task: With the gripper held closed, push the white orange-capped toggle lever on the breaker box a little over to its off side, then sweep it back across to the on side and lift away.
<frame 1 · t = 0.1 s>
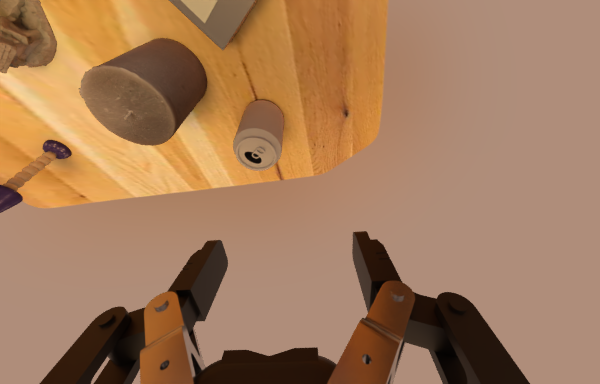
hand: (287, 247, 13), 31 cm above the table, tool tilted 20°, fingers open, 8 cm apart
pillar candle: (176, 72, 34), on the table
toy lamp: (61, 148, 45), on the table
can: (264, 117, 40), on the table
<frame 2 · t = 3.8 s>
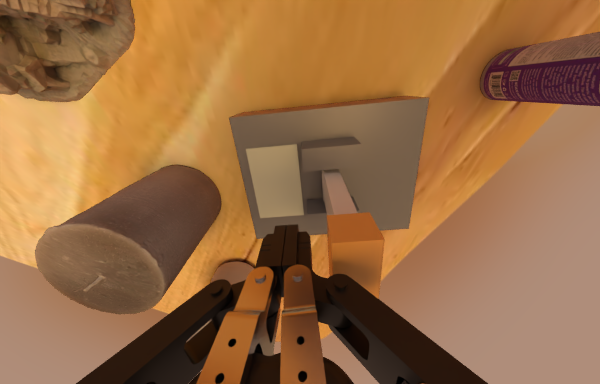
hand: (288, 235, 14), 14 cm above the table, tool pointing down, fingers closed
breaker box: (324, 164, 27), on the table
container: (502, 75, 22), on the table
pillar candle: (187, 196, 29), on the table
breaker lever: (338, 211, 16), point 11 cm above the table, hinge at -0.1°, touching gripper
ceramic cottage: (56, 22, 21), on the table
can: (239, 273, 35), on the table
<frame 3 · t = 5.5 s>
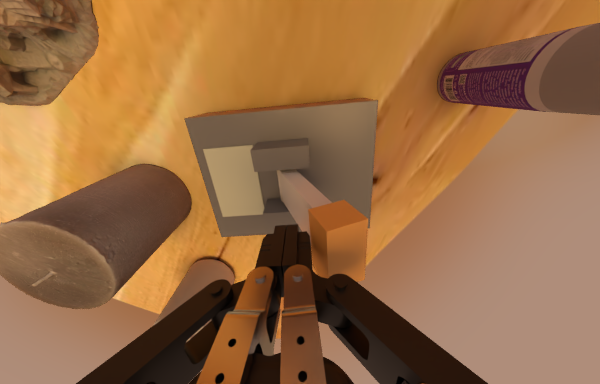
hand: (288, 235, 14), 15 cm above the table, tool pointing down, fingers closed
breaker box: (290, 164, 27), on the table
container: (458, 78, 23), on the table
pillar candle: (158, 194, 30), on the table
breaker lever: (306, 207, 17), point 11 cm above the table, hinge at -21.3°
ceramic cottage: (23, 29, 22), on the table
can: (214, 271, 36), on the table
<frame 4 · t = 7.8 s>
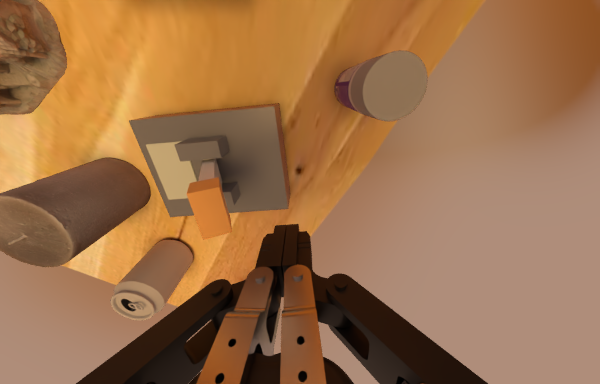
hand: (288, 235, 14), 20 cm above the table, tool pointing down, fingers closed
breaker box: (227, 157, 33), on the table
container: (351, 87, 28), on the table
pillar candle: (122, 183, 36), on the table
breaker lever: (212, 186, 23), point 11 cm above the table, hinge at -21.4°
ceramic cottage: (8, 55, 28), on the table
can: (176, 251, 42), on the table
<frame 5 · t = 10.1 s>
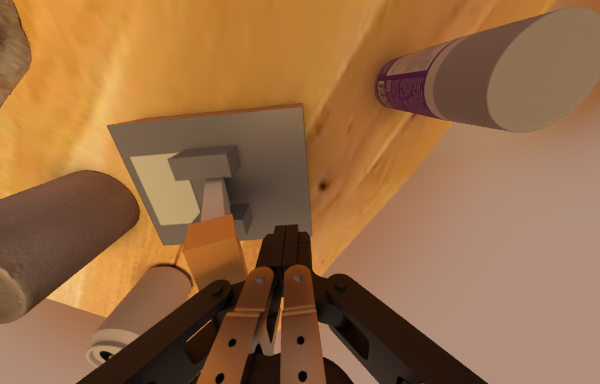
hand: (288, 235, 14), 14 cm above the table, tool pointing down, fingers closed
breaker box: (235, 170, 26), on the table
container: (396, 83, 22), on the table
pillar candle: (104, 201, 29), on the table
breaker lever: (219, 218, 16), point 11 cm above the table, hinge at -21.0°, touching gripper
can: (171, 278, 35), on the table
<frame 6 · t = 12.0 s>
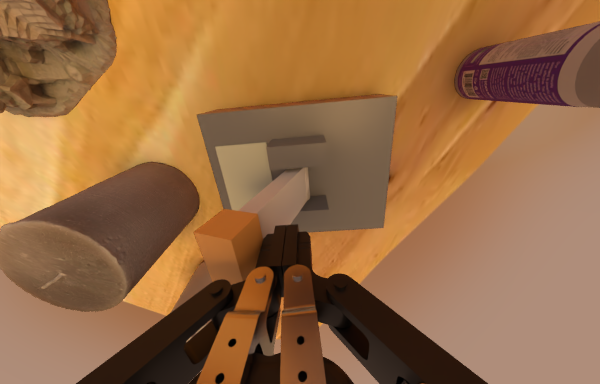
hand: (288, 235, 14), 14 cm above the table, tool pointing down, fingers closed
breaker box: (301, 162, 26), on the table
container: (476, 74, 22), on the table
pillar candle: (165, 193, 29), on the table
breaker lever: (275, 209, 17), point 11 cm above the table, hinge at 20.5°, touching gripper
ceramic cottage: (40, 40, 22), on the table
can: (221, 271, 35), on the table
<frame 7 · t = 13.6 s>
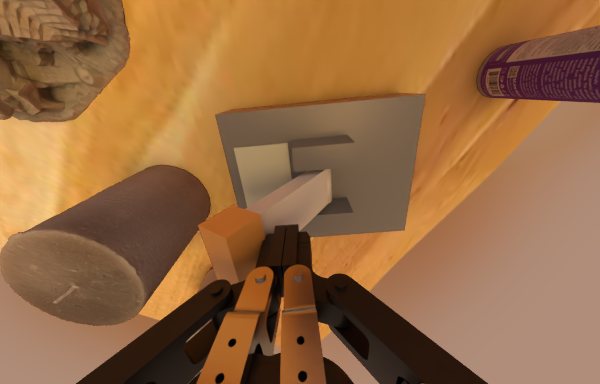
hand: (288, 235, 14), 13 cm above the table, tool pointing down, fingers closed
breaker box: (318, 164, 26), on the table
container: (499, 72, 22), on the table
pillar candle: (175, 197, 28), on the table
breaker lever: (288, 210, 16), point 10 cm above the table, hinge at 34.6°, touching gripper
ceramic cottage: (49, 42, 21), on the table
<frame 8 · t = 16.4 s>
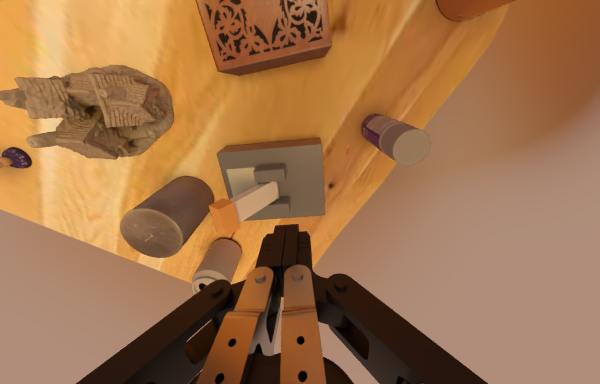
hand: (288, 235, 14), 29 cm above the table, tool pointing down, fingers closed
breaker box: (277, 176, 43), on the table
container: (373, 127, 39), on the table
pillar candle: (192, 195, 46), on the table
toy lamp: (22, 158, 43), on the table
breaker lever: (251, 201, 34), point 10 cm above the table, hinge at 34.9°
ceramic cottage: (131, 116, 39), on the table
can: (227, 248, 52), on the table
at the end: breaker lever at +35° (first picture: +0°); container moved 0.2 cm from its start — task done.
